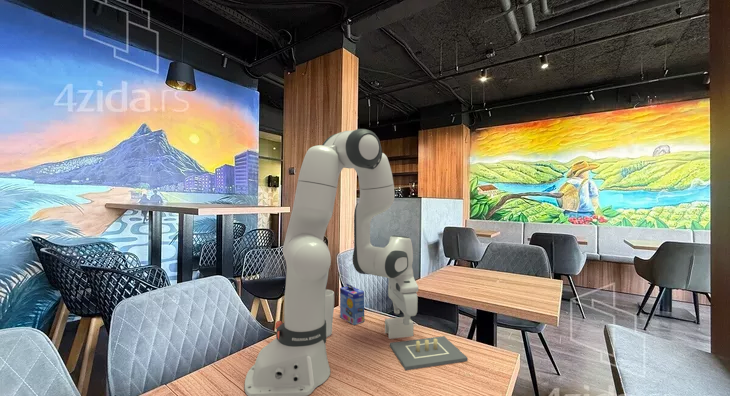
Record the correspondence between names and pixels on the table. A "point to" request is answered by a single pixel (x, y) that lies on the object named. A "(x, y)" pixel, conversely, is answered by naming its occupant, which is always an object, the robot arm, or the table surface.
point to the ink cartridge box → (352, 304)
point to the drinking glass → (329, 310)
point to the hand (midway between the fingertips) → (401, 318)
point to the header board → (427, 352)
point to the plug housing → (398, 328)
